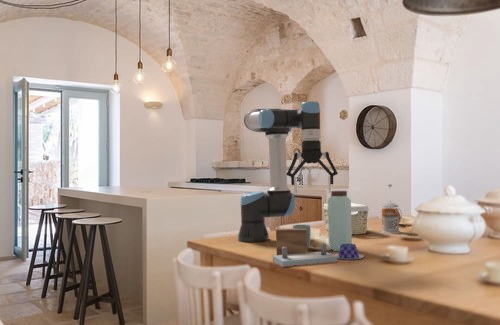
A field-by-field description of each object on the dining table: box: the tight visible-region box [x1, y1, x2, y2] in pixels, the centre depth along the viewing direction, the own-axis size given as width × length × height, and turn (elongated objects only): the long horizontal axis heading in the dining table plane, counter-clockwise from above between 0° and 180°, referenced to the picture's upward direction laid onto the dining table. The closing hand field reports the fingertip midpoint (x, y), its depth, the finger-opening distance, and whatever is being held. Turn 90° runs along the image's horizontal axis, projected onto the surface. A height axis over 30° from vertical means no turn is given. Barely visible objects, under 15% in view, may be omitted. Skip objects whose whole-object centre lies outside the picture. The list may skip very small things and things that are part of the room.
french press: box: [381, 183, 403, 235], centre depth 246 cm, size 10×12×25 cm
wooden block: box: [275, 228, 309, 255], centre depth 191 cm, size 4×12×11 cm, turn 76°
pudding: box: [334, 243, 365, 260], centre depth 187 cm, size 12×12×5 cm
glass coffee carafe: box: [381, 207, 402, 225], centre depth 274 cm, size 9×12×9 cm
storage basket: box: [323, 202, 370, 235], centre depth 251 cm, size 24×16×15 cm
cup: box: [292, 224, 311, 249], centre depth 208 cm, size 8×8×10 cm
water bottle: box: [327, 190, 353, 252], centre depth 203 cm, size 10×10×25 cm
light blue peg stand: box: [272, 243, 338, 268], centre depth 182 cm, size 11×22×6 cm, turn 106°
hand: (312, 193), depth 190 cm, fingers open, 13 cm apart
